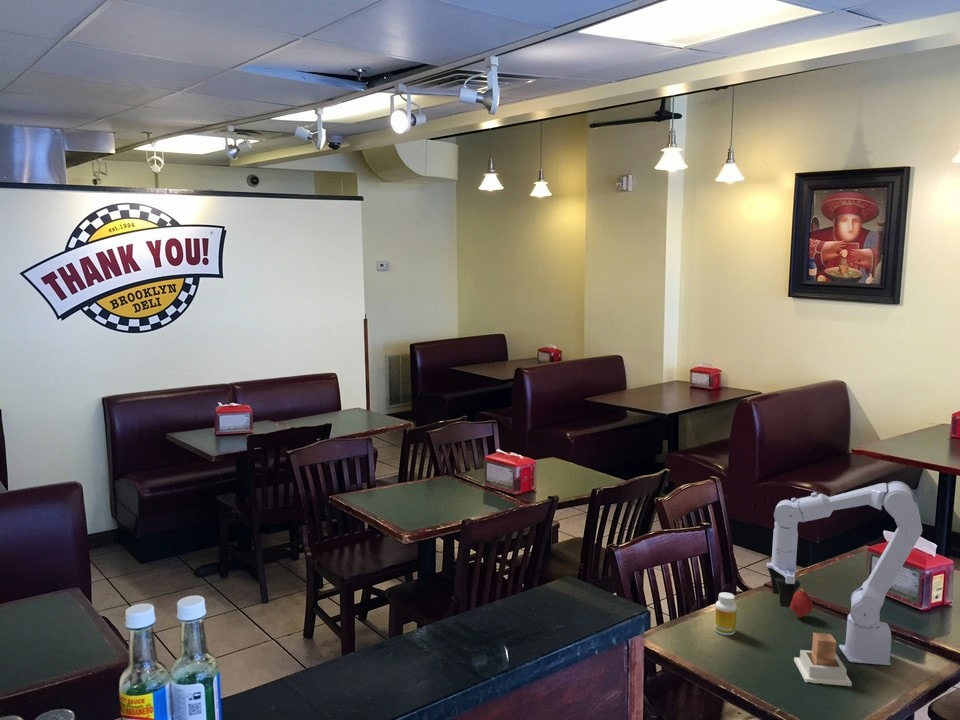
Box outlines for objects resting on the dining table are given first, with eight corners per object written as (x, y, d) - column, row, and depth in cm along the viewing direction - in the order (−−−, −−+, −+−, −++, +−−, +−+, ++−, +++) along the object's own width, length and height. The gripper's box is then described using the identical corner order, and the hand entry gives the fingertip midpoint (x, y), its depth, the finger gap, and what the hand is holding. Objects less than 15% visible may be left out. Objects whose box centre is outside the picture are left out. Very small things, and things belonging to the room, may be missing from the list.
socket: (837, 663, 185) (838, 650, 185) (851, 686, 175) (852, 672, 175) (794, 660, 187) (794, 647, 186) (805, 682, 177) (806, 668, 176)
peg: (828, 666, 183) (830, 634, 182) (833, 674, 179) (836, 642, 178) (810, 664, 183) (813, 632, 182) (815, 673, 179) (818, 640, 178)
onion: (791, 610, 214) (793, 582, 213) (813, 616, 211) (816, 588, 210) (786, 617, 209) (788, 589, 208) (808, 623, 206) (810, 595, 205)
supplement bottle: (736, 636, 198) (739, 600, 197) (714, 634, 199) (717, 598, 198) (734, 627, 203) (736, 592, 202) (713, 625, 204) (715, 590, 203)
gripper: (761, 537, 202) (758, 586, 204) (775, 557, 188) (771, 610, 190) (789, 539, 201) (786, 588, 203) (805, 559, 187) (801, 613, 189)
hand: (781, 599), depth 196 cm, fingers open, 7 cm apart
